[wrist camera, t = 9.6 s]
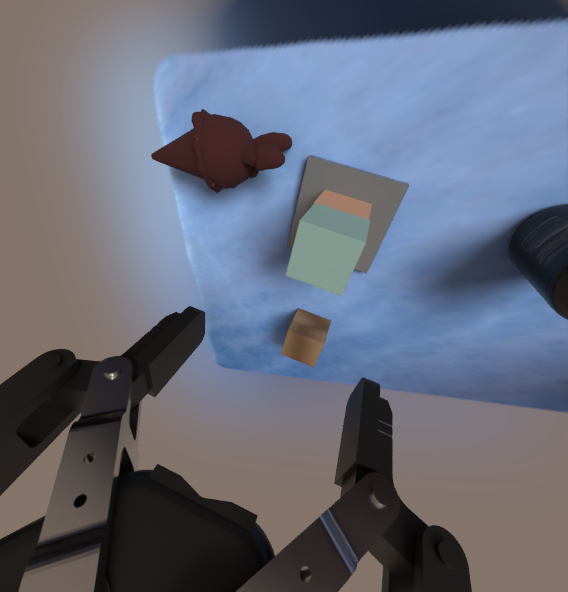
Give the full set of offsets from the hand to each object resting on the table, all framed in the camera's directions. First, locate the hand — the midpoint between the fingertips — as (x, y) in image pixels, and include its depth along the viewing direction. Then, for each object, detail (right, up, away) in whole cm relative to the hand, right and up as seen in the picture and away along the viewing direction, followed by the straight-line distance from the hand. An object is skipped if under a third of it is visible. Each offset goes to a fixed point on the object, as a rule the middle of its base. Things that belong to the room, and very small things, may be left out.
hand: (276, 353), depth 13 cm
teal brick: (+5, +8, +12) cm, 15 cm away
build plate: (+7, +11, +16) cm, 21 cm away
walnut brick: (+4, -2, +27) cm, 27 cm away
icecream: (-5, +19, +16) cm, 26 cm away
